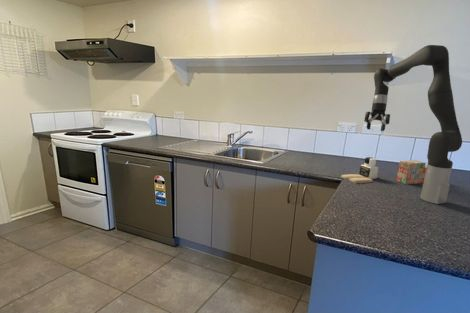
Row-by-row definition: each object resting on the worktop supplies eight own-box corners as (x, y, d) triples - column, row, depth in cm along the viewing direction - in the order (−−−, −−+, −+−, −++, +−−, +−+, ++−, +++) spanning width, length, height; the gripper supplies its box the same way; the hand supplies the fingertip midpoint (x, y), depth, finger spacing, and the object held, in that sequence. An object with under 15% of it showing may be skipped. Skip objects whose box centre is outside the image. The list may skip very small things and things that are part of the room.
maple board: (372, 181, 155) (372, 179, 155) (356, 183, 151) (356, 181, 151) (356, 175, 166) (357, 173, 166) (341, 176, 162) (341, 174, 161)
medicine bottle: (358, 175, 165) (361, 156, 163) (367, 174, 168) (370, 156, 165) (368, 179, 159) (371, 159, 156) (376, 178, 162) (380, 159, 159)
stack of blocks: (423, 179, 165) (428, 159, 162) (433, 182, 159) (438, 162, 156) (395, 180, 159) (399, 160, 157) (404, 184, 154) (409, 163, 151)
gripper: (371, 100, 157) (367, 128, 159) (395, 104, 158) (390, 131, 159) (364, 102, 165) (360, 128, 166) (387, 105, 166) (383, 131, 167)
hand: (375, 130), depth 163 cm, fingers open, 8 cm apart
